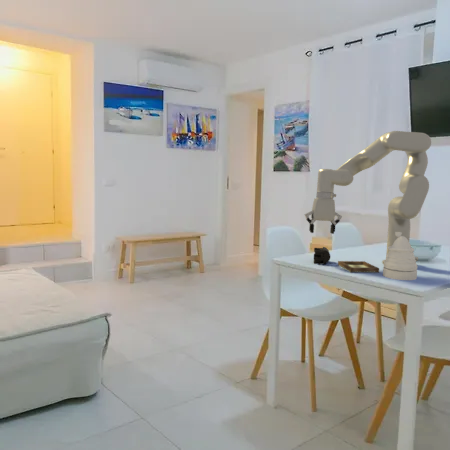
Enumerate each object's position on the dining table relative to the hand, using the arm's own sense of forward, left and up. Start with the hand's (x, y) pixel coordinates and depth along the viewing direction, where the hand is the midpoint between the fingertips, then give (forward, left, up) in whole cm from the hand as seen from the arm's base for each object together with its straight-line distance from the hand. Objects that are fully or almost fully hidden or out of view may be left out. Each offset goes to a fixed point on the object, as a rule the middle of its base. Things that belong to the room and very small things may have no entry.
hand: (321, 233), depth 206 cm
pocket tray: (-13, +14, -14) cm, 23 cm away
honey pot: (-24, +29, -14) cm, 40 cm away
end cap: (-1, 0, -14) cm, 14 cm away
